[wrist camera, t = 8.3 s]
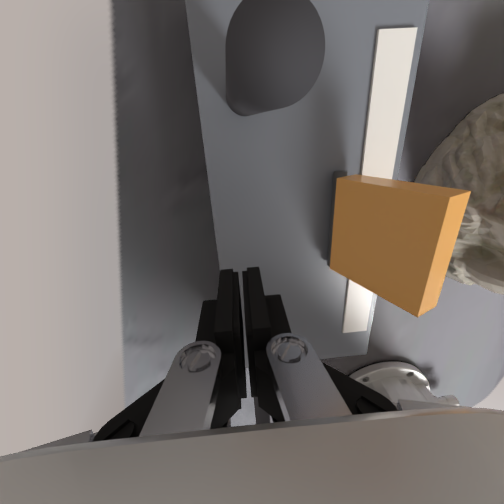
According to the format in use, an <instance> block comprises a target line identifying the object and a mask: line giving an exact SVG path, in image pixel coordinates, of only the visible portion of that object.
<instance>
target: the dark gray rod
mask: <svg viewBox="0 0 504 504" xmlns="http://www.w3.org/2000/svg"><path fill="white" fill-rule="evenodd" d="M324 56H325V34H324V29H323V25H322V21H321V18H320V16H319V14H318V12H317V10H316V8H315V7H314V5H313V4H312V2H311V1H310V0H242V1H241V3H240V4H239V5H238V7H237V8H236V10H235V12H234V13H233V16H232V18H231V20H230V23H229V26H228V30H227V35H226V44H225V60H226V100H227V103H228V106H229V107H230V109H231V110H232V111H233V112H234V113H236V114H237V115H240V116H250V115H254V114H259V113H263V112H268V111H272V110H276V109H281V108H285V107H288V106H291V105H293V104H295V103H296V102H298V101H299V100H301V99H302V98H303V97H304V96H305V95H306V94H307V93H308V92H309V91H310V90H311V88H312V87H313V86H314V84H315V82H316V81H317V79H318V76H319V74H320V72H321V69H322V66H323V61H324Z"/></svg>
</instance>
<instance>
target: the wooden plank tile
mask: <svg viewBox="0 0 504 504" xmlns="http://www.w3.org/2000/svg"><path fill="white" fill-rule="evenodd" d="M347 174H348V171H334V175H333V189H332V202H331V216H330V230H329V243H328V257H327V266H329V267H330V269H331V270H333V271H335V272H337V273H339V274H340V275H342V276H344V277H346V278H348V279H349V280H351V281H353V282H355V283H357V284H358V285H360V286H362V287H364V288H366V289H367V290H369V291H371V292H373V293H375V294H376V295H378V296H380V297H382V298H384V299H385V300H387V301H389V302H391V303H393V304H394V305H396V306H398V307H400V308H402V309H403V310H405V311H407V312H409V313H411V314H412V315H414V316H416V317H419V316H421V315H422V314H424V313H426V312H427V311H429V310H431V309H432V308H434V307H436V305H437V302H438V299H439V295H440V292H441V289H442V285H443V282H444V279H445V275H446V272H447V269H448V265H449V262H450V259H451V256H452V252H453V249H454V246H455V242H456V239H457V236H458V232H459V229H460V226H461V223H462V219H463V216H464V213H465V209H466V206H467V203H468V199H469V196H470V193H471V191H468V190H461V189H454V188H448V187H441V186H434V185H427V184H420V183H413V182H406V181H399V180H392V179H386V178H379V177H372V176H365V175H358V174H355V175H350V176H347Z"/></svg>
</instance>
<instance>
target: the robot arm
mask: <svg viewBox="0 0 504 504" xmlns="http://www.w3.org/2000/svg"><path fill="white" fill-rule="evenodd" d="M242 279H243V296H244V313H245V329H246V341H247V352H248V364H249V375H250V386H251V397H258V407H260V408H261V409H263V410H264V411H265V412H267V413H268V414H269V415H270V423H265V424H255V425H245V426H236V427H231V417H232V416H233V415H234V414H235V413H236V412H237V410H238V409H241V398H247V393H246V372H245V351H244V330H243V317H242V307H241V296H240V286H239V275H238V272H233V269H223V270H220V278H219V287H218V297H217V300H207V301H203V304H202V310H201V315H200V320H199V326H198V331H197V336H196V341H195V342H193V343H190V344H188V345H186V346H185V347H183V348H182V349H181V350H180V351H179V352H178V353H177V355H176V356H175V358H174V360H173V363H172V365H171V367H170V369H169V371H168V374H167V376H166V378H165V379H164V380H163V381H161V382H160V383H159V384H157V385H156V386H155V387H153V388H152V389H151V390H149V391H148V392H147V393H145V394H144V395H143V396H141V397H140V398H139V399H137V400H136V401H135V402H133V403H132V404H131V405H129V406H128V407H127V408H125V409H124V410H123V411H122V412H120V413H119V414H117V415H116V416H115V417H114V418H112V419H111V420H110V421H108V422H107V423H106V424H105V425H104V426H103V427H102V428H101V429H100V430H99V432H97V433H94V434H93V432H92V430H89V431H86V432H82V433H79V434H76V435H73V436H70V437H66V438H63V439H60V440H57V441H54V442H51V443H47V444H44V445H41V446H38V447H35V448H31V449H28V450H25V451H22V452H18V453H14V454H9V455H5V456H1V457H0V504H504V411H502V410H494V409H487V408H472V407H466V406H459V401H458V400H457V398H456V397H455V396H453V395H449V396H442V397H438V398H437V397H436V396H433V395H432V394H431V392H430V386H429V382H428V380H427V378H426V377H425V376H424V374H423V373H422V372H421V371H420V370H419V369H418V368H416V367H415V366H413V365H411V364H408V363H403V362H392V361H390V362H381V363H377V364H373V365H370V366H367V367H364V368H362V369H360V370H358V371H356V372H354V373H353V374H351V375H350V376H347V375H345V374H343V373H341V372H339V371H337V370H335V369H334V368H332V367H330V366H328V365H326V364H324V363H322V362H321V360H320V359H319V357H318V355H317V354H316V352H315V350H314V348H313V347H312V345H311V344H310V342H309V341H308V340H307V339H305V338H304V337H302V336H300V335H297V334H293V333H291V329H290V326H289V322H288V319H287V315H286V312H285V309H284V305H283V302H282V298H281V295H280V294H276V295H264V290H263V284H262V279H261V274H260V269H259V267H247V271H242Z"/></svg>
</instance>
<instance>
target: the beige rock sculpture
mask: <svg viewBox="0 0 504 504" xmlns="http://www.w3.org/2000/svg"><path fill="white" fill-rule="evenodd" d="M414 183H420V184H427V185H434V186H441V187H448V188H454V189H461V190H468V191H471V193H470V196H469V199H468V203H467V206H466V209H465V213H464V216H463V219H462V223H461V226H460V229H459V232H458V236H457V239H456V242H455V246H454V249H453V252H452V256H451V259H450V262H449V265H448V269H447V272H446V275H445V276H446V277H448V278H451V279H453V280H456V281H458V282H460V283H462V284H467V285H473V284H477V285H479V286H481V287H483V288H485V289H488V290H490V291H492V292H494V293H499V294H503V295H504V93H503V94H499V95H497V96H496V97H494V98H491V99H490V100H488V101H486V102H485V103H483V104H481V105H479V107H476V108H475V109H473V110H472V111H471V112H470V113H469V114H468V115H467V116H466V117H465V119H463V120H462V121H461V122H460V123H459V124H458V125H456V128H455V129H454V130H453V131H452V133H451V134H450V136H448V137H447V138H445V139H444V140H443V142H442V143H441V144H440V145H438V147H437V148H436V149H435V150H434V152H433V153H432V154H431V156H430V157H429V160H427V162H426V165H423V167H422V168H421V169H420V171H419V173H418V175H417V177H416V179H415V181H414Z"/></svg>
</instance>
